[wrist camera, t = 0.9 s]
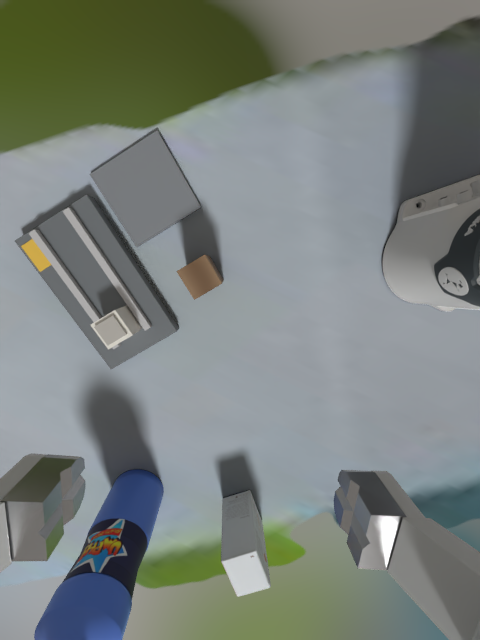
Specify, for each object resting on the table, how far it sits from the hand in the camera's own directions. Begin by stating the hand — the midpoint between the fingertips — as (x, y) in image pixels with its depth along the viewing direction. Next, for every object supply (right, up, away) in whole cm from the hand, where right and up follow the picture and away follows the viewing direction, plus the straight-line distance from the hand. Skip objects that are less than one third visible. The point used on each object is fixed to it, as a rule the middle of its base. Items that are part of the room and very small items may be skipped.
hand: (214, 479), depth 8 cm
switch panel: (-20, +10, +31) cm, 38 cm away
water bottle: (-18, -26, +39) cm, 50 cm away
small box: (+1, -31, +41) cm, 51 cm away
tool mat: (-12, +23, +28) cm, 38 cm away
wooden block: (-4, +12, +31) cm, 33 cm away
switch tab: (-16, +5, +30) cm, 34 cm away
